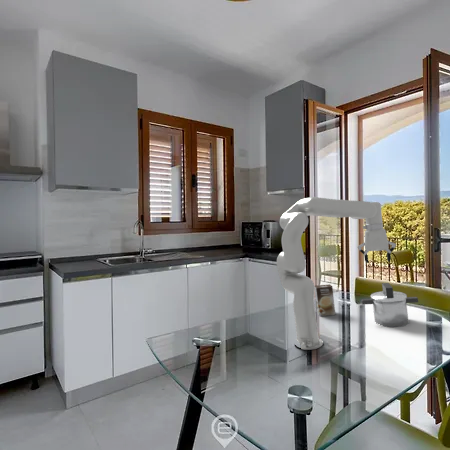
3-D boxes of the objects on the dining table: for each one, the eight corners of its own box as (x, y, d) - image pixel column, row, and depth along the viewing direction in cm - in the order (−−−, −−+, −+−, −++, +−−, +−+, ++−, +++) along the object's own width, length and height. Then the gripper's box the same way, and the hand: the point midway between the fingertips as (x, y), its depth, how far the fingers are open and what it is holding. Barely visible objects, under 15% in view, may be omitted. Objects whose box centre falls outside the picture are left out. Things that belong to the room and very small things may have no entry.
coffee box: (319, 316, 182) (315, 288, 182) (317, 312, 188) (313, 285, 188) (335, 314, 181) (332, 286, 181) (333, 311, 187) (329, 283, 187)
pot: (415, 315, 165) (412, 292, 164) (424, 326, 150) (421, 300, 150) (362, 317, 172) (360, 294, 172) (366, 327, 158) (363, 303, 157)
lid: (410, 301, 151) (409, 288, 151) (373, 303, 155) (372, 290, 155) (402, 292, 166) (401, 280, 166) (368, 294, 171) (367, 282, 171)
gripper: (356, 229, 158) (359, 264, 159) (395, 226, 153) (399, 262, 154) (355, 228, 166) (358, 261, 166) (392, 225, 160) (395, 259, 161)
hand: (377, 261), depth 160 cm, fingers open, 9 cm apart
